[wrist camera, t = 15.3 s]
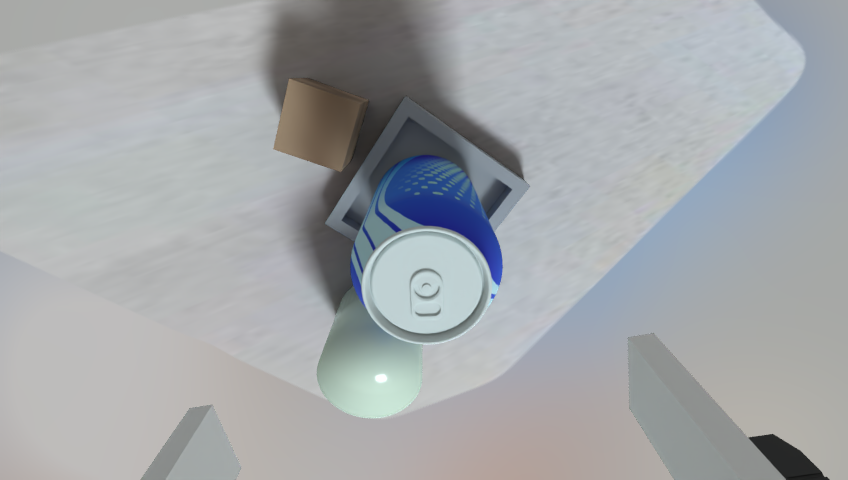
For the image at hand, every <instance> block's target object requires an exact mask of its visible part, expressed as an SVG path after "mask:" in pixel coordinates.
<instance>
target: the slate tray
mask: <svg viewBox="0 0 848 480" xmlns="http://www.w3.org/2000/svg"><path fill="white" fill-rule="evenodd" d="M418 155H433V156H438V157H442V158H445V159H447V160H449V161H451V162H453V163H454V164H456V165H457V166H459V167H460V168H461V169H462V170H463V171H464V172H465V173H466V175H467V176H468V177H469V179H470V180H471V182H472V184H473V187H474V189H475V191H476V193H477V195H478V198H479V200H480V202H481V204H482V206H483V209H484V211H485V213H486V215H487V218H488V220H489V222H490V224H491V226H492V229H493V231H494V232H495V230H496V229H497V228H498V226H499V225H500V224H501V223H502V221H503V220H504V219H505V218H506V216H507V215H508V214H509V212H510V211H511V210H512V209H513V207H514V206H515V205H516V204H517V202H518V201H519V200H520V199H521V197H522V196H523V195H524V193H525V192H526V191H527V190H528V188H529V187H530V185H529V184H528V183H527V182H526V181H525V180H524V179H522V178H521V177H519V176H518V175H517V174H515V173H514V172H512V171H511V170H510V169H508V168H507V167H505V166H504V165H503V164H501V163H500V162H498V161H497V160H495V159H494V158H493V157H491V156H490V155H488V154H487V153H486V152H484V151H483V150H481V149H480V148H479V147H477V146H476V145H474V144H473V143H472V142H470V141H469V140H467V139H466V138H465V137H463V136H462V135H460V134H459V133H458V132H456V131H455V130H453V129H452V128H450V127H449V126H448V125H446V124H445V123H443V122H442V121H441V120H439V119H438V118H436V117H435V116H434V115H432V114H431V113H429V112H428V111H427V110H425V109H424V108H422V107H421V106H420V105H418V104H417V103H415V102H414V101H413V100H411V99H410V98H408V97H407V96H405V97H404V99H403V100H402V102H401V104H400V105H399V107H398V108H397V110H396V112H395V113H394V115H393V116H392V118H391V119H390V121H389V123H388V124H387V126H386V127H385V129H384V131H383V132H382V134H381V135H380V137H379V138H378V140H377V142H376V143H375V145H374V146H373V148H372V149H371V151H370V153H369V154H368V156H367V157H366V159H365V161H364V162H363V164H362V165H361V167H360V168H359V170H358V172H357V173H356V175H355V176H354V178H353V180H352V181H351V183H350V184H349V186H348V187H347V189H346V191H345V192H344V194H343V195H342V197H341V199H340V200H339V202H338V203H337V205H336V206H335V208H334V210H333V211H332V213H331V214H330V216H329V217H328V219H327V221H326V222H325V224H326V225H328V226H329V227H331V228H333V229H334V230H336V231H337V232H339V233H341V234H342V235H344V236H346V237H347V238H349V239H351V240H352V241H354V242H355V240H356V237H357V235H358V232H359V230H360V228H361V225H362V223H363V220H364V218H365V216H366V213H367V211H368V208H369V206H370V204H371V201H372V199H373V196H374V194H375V191H376V189H377V187H378V184H379V182H380V180H381V179H382V177H383V176H384V175H385V173H386V172H387V171H388V170H389V169H390V168H391V167H393V166H394V165H395V164H397V163H398V162H400V161H402V160H404V159H406V158H409V157H413V156H418Z"/></svg>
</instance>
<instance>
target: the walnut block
mask: <svg viewBox="0 0 848 480" xmlns="http://www.w3.org/2000/svg"><path fill="white" fill-rule="evenodd" d="M368 102H369V100H367V99H364V98H361V97H359V96H356V95H353V94H350V93H348V92H345V91H342V90H339V89H337V88H334V87H331V86H328V85H326V84H323V83H320V82H317V81H314V80H312V79H309V78H289V81H288V85H287V90H286V94H285V99H284V103H283V108H282V112H281V117H280V121H279V126H278V130H277V135H276V139H275V144H274V148H273V149H274V150H277V151H280V152H283V153H286V154H289V155H292V156H295V157H298V158H301V159H304V160H307V161H310V162H313V163H316V164H319V165H322V166H325V167H327V168H330V169H333V170H336V171H339V172H342V171H343V169H344V168H345V167H346V166H347V165H348V164H349V162H350V161H351V160H352V157H353V154H354V150H355V147H356V143H357V140H358V137H359V133H360V130H361V126H362V123H363V119H364V116H365V112H366V109H367V105H368Z"/></svg>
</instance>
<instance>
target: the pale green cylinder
mask: <svg viewBox="0 0 848 480" xmlns="http://www.w3.org/2000/svg"><path fill="white" fill-rule="evenodd" d="M317 380H318V383H319V386H320V389H321V391H322V392H323V394H324V396H325V397H326V398H327V399H328V400H329V401H330V402H331V403H332V404H333V405H334V406H335V407H337V408H338V409H340V410H342V411H343V412H346V413H348V414H350V415H354V416H357V417H362V418H382V417H386V416H390V415H393V414H395V413H398V412H400V411H401V410H403V409H405V408H406V407H407V406H408V405H410V404H411V403H412V401H413V400H414V399H415V398H416V396H417V394H418V393H419V390H420V388H421V384H422V344H415V343H410V342H406V341H403V340H400V339H398V338H396V337H394V336H392V335H390V334H389V333H387V332H386V331H384V330H383V329H382V328H381V327H379V325H378V324H377V323H376V322H375V321H374V320H373V319H372V317H371V316H370V314H369V313H368V311H367V309H366V308H365V307H364V305H363V304H362V302H361V301H360V299H359V297H358V295H357V293H356V291H355V288H354V286H352V287H351V288H350V289H349V290H348V291H347V292H346V293H345V295H344V296H343V298H342V300H341V303H340V305H339V308H338V311H337V314H336V316H335V319H334V322H333V324H332V327H331V330H330V333H329V335H328V338H327V341H326V344H325V346H324V349H323V352H322V354H321V357H320V360H319V363H318V367H317Z"/></svg>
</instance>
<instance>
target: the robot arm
mask: <svg viewBox="0 0 848 480" xmlns="http://www.w3.org/2000/svg"><path fill="white" fill-rule="evenodd" d="M628 362H629V363H628V365H629V409H630V410H631V412H632V413H633V415H634V417H635V418H636V420H637V421H638V423H639V424H640V426H641V428H642V429H643V431H644V432H645V434H646V436H647V437H648V439H649V440H650V442H651V443H652V445H653V447H654V448H655V450H656V451H657V453H658V455H659V456H660V458H661V460H662V461H663V463H664V464H665V466H666V467H667V469H668V471H669V472H670V474H671V475H672V477H673V479H674V480H829V479H828V478H827V477H824V476H823V474H822V472H821V471H820V470H819V469H818V468H817V467H816V466H815V465H814V464H813V463H812V462H811V461H810V460H809V459H808V458H807V457H806V456H805V455H804V454H803V453H802V452H801V451H800V450H798V449H797V448H795V447H793V446H792V445H790V444H788V443H787V442H785V441H783V440H782V439H780V438H778V437H777V436H775V435H773V434H770V435H764V436H756V437H749V438H748V437H747V436H746V435H745V434H744V433H743V431H742V430H741V429H740V428H739V427H738V426H737V425H736V424H735V423H734V422H733V420H732V419H731V418H730V417H729V416H728V415H727V414H726V413H725V412H724V411H723V410H722V408H721V407H720V406H719V405H718V404H717V403H716V402H715V400H714V399H713V398H712V397H711V396H710V395H709V394H708V393H707V392H706V391H705V389H703V387H702V386H701V385H700V384H699V383H698V382H697V381H696V380H695V378H694V377H693V376H692V375H691V374H690V373H689V372H688V371H687V370H686V368H685V367H684V366H683V365H682V364H681V363H680V362H679V361H678V360H677V358H676V357H675V356H674V355H673V354H672V353H671V352H670V351H669V350H668V348H666V346H665V345H664V344H663V343H662V342H661V341H660V340H659V339H658V337H657V336H656V335H655V334H654V333H651V334H645V335H639V336H633V337H628ZM240 470H241V466H240V463H239V461H238V459H237V457H236V455H235V453H234V450H233V448H232V446H231V444H230V442H229V440H228V437H227V435H226V433H225V431H224V429H223V427H222V424H221V422H220V420H219V418H218V416H217V414H216V411H215V409H214V407H213V405H207V406H201V407H195V408H189V410H188V411H187V413H186V414H185V416H184V417H183V419H182V420H181V422H180V423H179V425H178V426H177V427H176V429H175V430H174V432H173V433H172V435H171V436H170V437H169V439H168V440H167V442H166V443H165V445H164V446H163V448H162V449H161V451H160V452H159V453H158V455H157V456H156V458H155V459H154V461H153V462H152V464H151V465H150V467H149V468H148V470H147V471H146V472H145V474H144V475H143V477H142V478H141V480H236V478H237V476H238V474H239V472H240Z"/></svg>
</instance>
